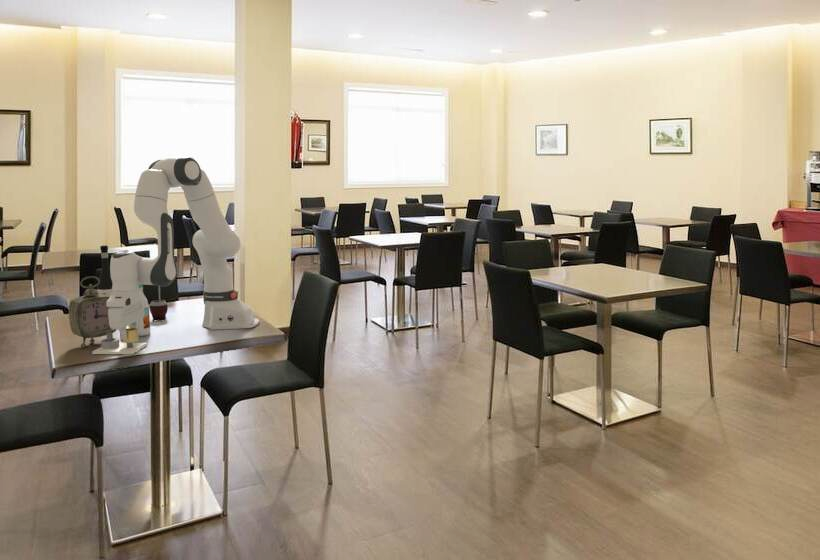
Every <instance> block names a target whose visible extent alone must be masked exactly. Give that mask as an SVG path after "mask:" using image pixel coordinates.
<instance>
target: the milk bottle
mask: <svg viewBox="0 0 820 560" xmlns="http://www.w3.org/2000/svg"><path fill="white" fill-rule="evenodd" d="M138 286H139V293H140V298H141V299H142V300H143V305H144V312H145V314H144V317H143V318H141V319H140V320H138V325H137V329H138V337H144V336H148V335H150V334H151V321H150V320H151V319H150V305H149V302H148V299H147V297H146V296H145V294H144V291H143V290H144V284H138ZM128 328H131V324H130V325H128Z"/></svg>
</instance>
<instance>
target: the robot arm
mask: <svg viewBox="0 0 820 560" xmlns="http://www.w3.org/2000/svg"><path fill="white" fill-rule="evenodd" d="M137 182H138V183H137V185H136V190H135V195H134V202H133V212H134V214H135V216H136V217H137V219H138V220H139V221H140V222H142V223H144V224H145V225H148V226H149V227H151V228H153V229H154V230H155V233H156V234H157V256H156V258H155V257H143V256H140V255H138V254H136V253H135V252H134V250H132V249H131V250H130V249H124V250H118V251H115V252H114V253H113V254H111V258H110V262H109V268H110V273H111V280H112V283H113V286H112V294H111V296H110V298H109V299H108V300H107V302H106V306H107V307H109V309H108V319H109V326H110V328H111V329H112V330H116V331H117V330H118V331H119V334H120V333H121V338H122V339H127V338H128V333H127V332H126V328H127V327H129V325H130V324H131V328H137V325H138V320H140V319H141V318H143V317H144V314H145V312H144V305H143V300H142V299H141V298H140V293H139V286H138V284H143V286H144V285H146V286H147V285H148V286H155V287H158V286H160V288H161V287H162V288H166V287H168V286H170V285H171V284H172V283H174V280H175V279H176V278H177V267H176V261H175V235H174V233H175V231H174V229H175V228H174V221H173V218H172V216H171V215H170V214H169V211H168V197H169V196H168V195H169V191H170V189H171V188H173V189H174V188H175V189H176V188H179V187H180V188H181V189H182V191H183V194H184V198H185V201H186V204H187V206H188V209H189V212H190V215H191V217H192V220H193V221H194V222H195V224H196V225H197V226H198V227H199V228H200V229H198V230H197V231H196V232H195V233H194V234H193V236H192V245H193V248H194V249H195V250H196V252H197V255H198V257H199V261H200V264H201V269H202V275H203V286H204V287H203V288H204V290H203V295H202V297H203V305H204V312H203V320H202V324H201V326H202V327H204V328H208V329H209V330H211V331H212V330H215V331H216V330H236V329H237V330H239V329H251V328H254V327H257V326H258V325H259V324H260V320H259V318H255V317H254V312H253V309H252V307H251V306H249V305H248V304H247V303H245V302H244V301H242V300H240V299H239V290H237V291H236V289H233V272H232V269H231V268H230V265H229V264H228V263H229V262H228V261H227V258H230V257H233V256H235V255H237V254H238V253H239V251H240V249H241V245H242V244H241V239H240V237H239V236H238V235H237V234H236V233H235V232H234V231H233V230H232V228H231V226H230V224H229V223H228V222H227V220H226V218H225V216H224V215H223V211H222V210H221V207H220V205H219V202H218V200H217V196H216V193H215V191H214V188H213V186H212V183H211V181H210V179H209V177H208V175H207V173H206V172H205V170H203V169H202V168H201V165H200V164H199V163H198V162H197V160H195V158H193V157H190V156H183V155H181V156H172V157H170V156H169V157H167V158H163V159H157V160H155V161H153V162H152V163H151V164H150V165H149V167H148V168H147V169H146V170H144V171H142V172H141V174H140V177H139V178H138V181H137Z"/></svg>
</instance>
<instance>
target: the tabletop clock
mask: <svg viewBox="0 0 820 560" xmlns="http://www.w3.org/2000/svg"><path fill="white" fill-rule="evenodd" d="M99 278H100V277H97V276H91V275H90V276H89V275H88V276H85V277H84V278H82V279H81V281H80V286H81V287H82V288H83V289H86V290H85V291H84V292H83V294H82V296H77V297H74V298H72V299H70V301H69V304H68V321H69V326H70V330H71V332H72V334H73V335H76V336H78V337H81V338H82V339H83V340H82V343H81V345H80V348H82V349H84V348H86V346H87V345H86V341H87V339H90V340H89V343H91V344H94V343H95V342H96V341H95V339H94V338H100V337H103V336H104V337H105V336H106V333H110V332H111V333H115V332H117V330H112V329H111V328H110V326H109V319H108V309H109V307H107V306H106V302H107V300H108V299H109V298H110V297H108V296H105V295H101V294H99V292H98V291H97V289H95V288H97V287H98V285H99V283H100V280H99ZM89 279H95V280H97V284H94V285H93V284H92V283H89V284H88V285H87V286H86V285H83V282H84V281H85V280H89ZM98 281H99V282H98Z"/></svg>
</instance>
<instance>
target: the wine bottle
mask: <svg viewBox="0 0 820 560" xmlns="http://www.w3.org/2000/svg"><path fill="white" fill-rule="evenodd" d="M99 248H100V255H101V272H100V275H99V277H98V278H99V280H100V283H99V285H98V286H96V288H97V289H96V290H97V291H98V292H99V294H101V295H105V296H108V297H110V296H111V294H112V286H113V283H112V280H111V273H110V262H109V251H108V250H109V246H108V245H107V244H106V245H100V247H99ZM98 282H99V281H98V280H97V283H98Z"/></svg>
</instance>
